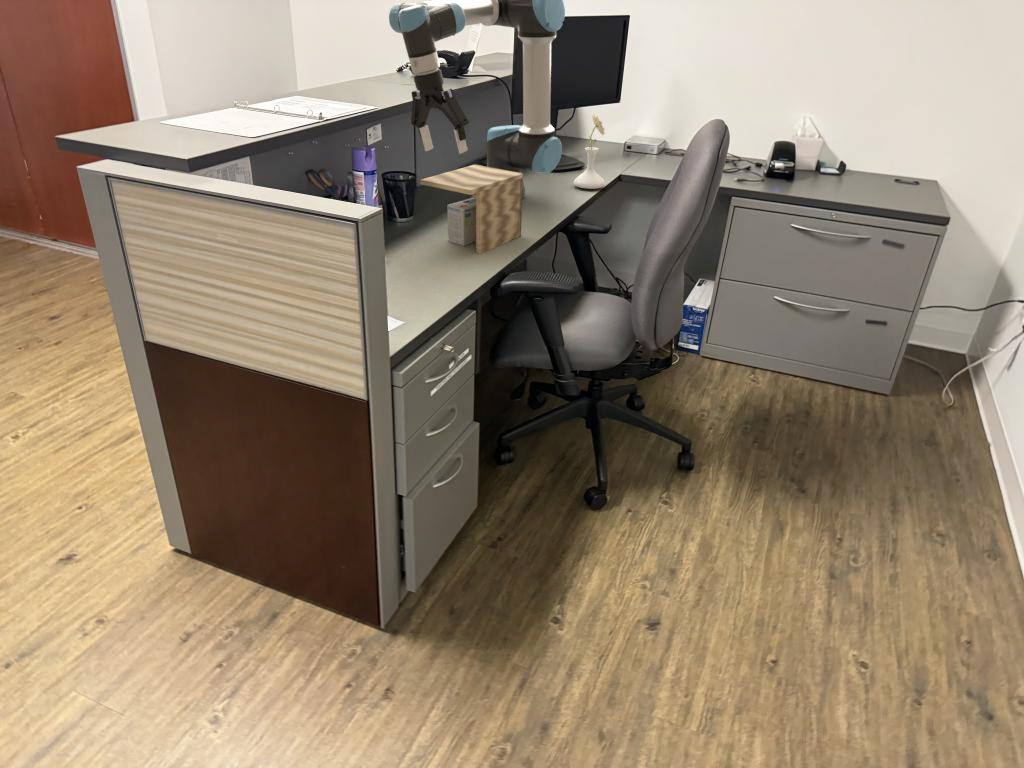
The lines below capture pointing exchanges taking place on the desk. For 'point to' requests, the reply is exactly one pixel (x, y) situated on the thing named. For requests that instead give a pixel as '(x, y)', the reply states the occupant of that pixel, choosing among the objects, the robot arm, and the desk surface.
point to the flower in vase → (591, 164)
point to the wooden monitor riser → (487, 201)
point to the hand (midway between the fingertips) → (446, 150)
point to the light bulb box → (462, 221)
